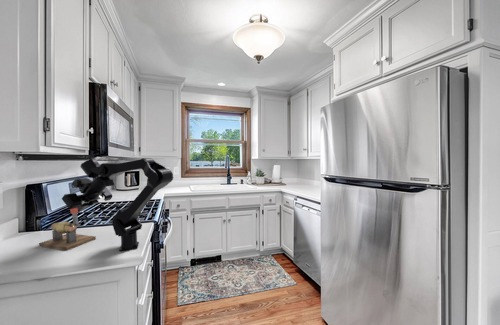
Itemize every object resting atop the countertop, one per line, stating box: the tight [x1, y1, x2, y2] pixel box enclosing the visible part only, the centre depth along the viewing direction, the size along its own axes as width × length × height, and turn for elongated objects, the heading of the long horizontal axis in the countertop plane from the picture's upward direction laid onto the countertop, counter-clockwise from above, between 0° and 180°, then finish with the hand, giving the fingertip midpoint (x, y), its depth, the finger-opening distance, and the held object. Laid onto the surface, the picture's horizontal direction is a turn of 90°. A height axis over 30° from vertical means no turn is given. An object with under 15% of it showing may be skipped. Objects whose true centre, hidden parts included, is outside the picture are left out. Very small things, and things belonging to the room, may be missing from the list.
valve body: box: [50, 221, 78, 244], centre depth 97 cm, size 11×6×8 cm, turn 73°
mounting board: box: [38, 233, 96, 251], centre depth 98 cm, size 16×12×1 cm
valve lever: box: [69, 207, 80, 227], centre depth 101 cm, size 2×2×11 cm
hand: (79, 209), depth 100 cm, fingers closed
